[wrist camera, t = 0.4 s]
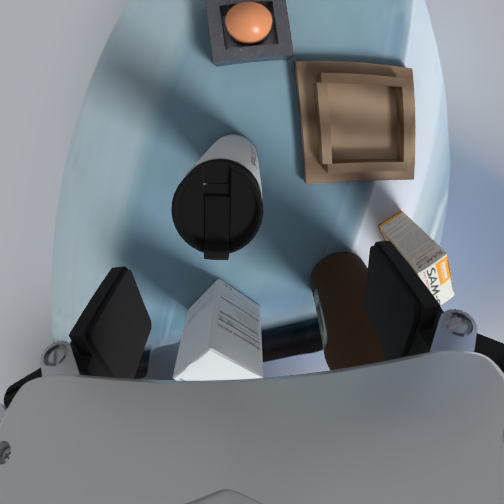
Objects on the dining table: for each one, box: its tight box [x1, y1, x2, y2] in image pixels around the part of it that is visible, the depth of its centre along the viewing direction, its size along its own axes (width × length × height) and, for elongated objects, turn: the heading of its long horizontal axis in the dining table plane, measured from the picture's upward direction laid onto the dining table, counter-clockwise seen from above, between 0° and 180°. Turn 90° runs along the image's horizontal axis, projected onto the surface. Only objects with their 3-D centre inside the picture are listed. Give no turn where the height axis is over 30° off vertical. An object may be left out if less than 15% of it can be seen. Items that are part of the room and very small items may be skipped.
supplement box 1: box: [173, 279, 263, 381], centre depth 41 cm, size 9×9×15 cm
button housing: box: [205, 0, 293, 66], centre depth 26 cm, size 9×9×4 cm
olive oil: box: [311, 252, 386, 370], centre depth 34 cm, size 11×11×25 cm
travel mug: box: [172, 134, 263, 260], centre depth 27 cm, size 6×7×20 cm
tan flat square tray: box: [294, 61, 415, 184], centre depth 32 cm, size 16×16×4 cm
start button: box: [225, 2, 272, 44], centre depth 24 cm, size 5×5×3 cm
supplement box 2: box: [379, 211, 454, 305], centre depth 36 cm, size 8×5×13 cm, turn 35°
